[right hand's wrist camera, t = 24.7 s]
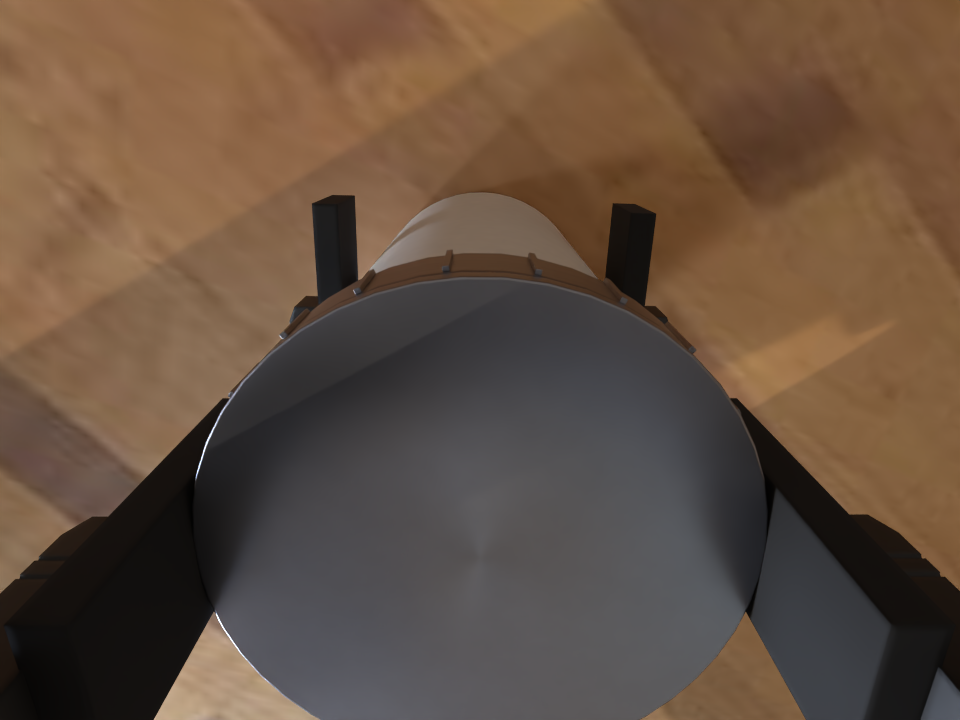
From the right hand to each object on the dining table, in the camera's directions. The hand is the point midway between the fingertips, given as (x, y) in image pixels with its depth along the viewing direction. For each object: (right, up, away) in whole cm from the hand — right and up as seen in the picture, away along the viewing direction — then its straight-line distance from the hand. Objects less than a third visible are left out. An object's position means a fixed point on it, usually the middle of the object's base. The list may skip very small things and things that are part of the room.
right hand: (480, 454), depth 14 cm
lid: (0, -1, -3) cm, 3 cm away
